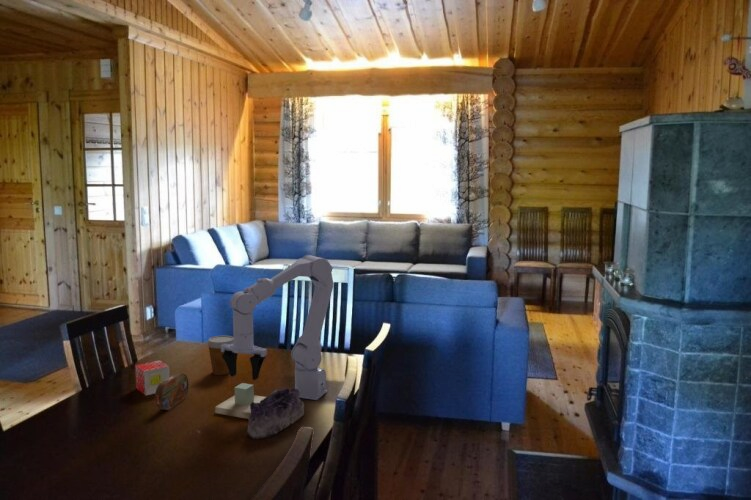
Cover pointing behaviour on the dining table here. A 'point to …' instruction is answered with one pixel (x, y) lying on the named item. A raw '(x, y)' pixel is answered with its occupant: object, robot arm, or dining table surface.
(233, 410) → the slab
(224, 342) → the disposable coffee cup
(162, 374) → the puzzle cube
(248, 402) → the block
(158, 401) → the tin
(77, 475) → the dining table surface
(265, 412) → the geode
